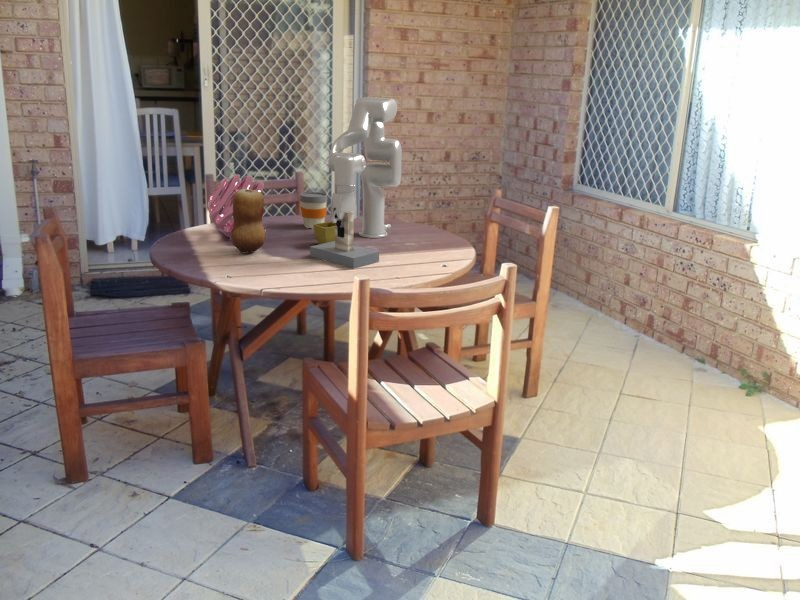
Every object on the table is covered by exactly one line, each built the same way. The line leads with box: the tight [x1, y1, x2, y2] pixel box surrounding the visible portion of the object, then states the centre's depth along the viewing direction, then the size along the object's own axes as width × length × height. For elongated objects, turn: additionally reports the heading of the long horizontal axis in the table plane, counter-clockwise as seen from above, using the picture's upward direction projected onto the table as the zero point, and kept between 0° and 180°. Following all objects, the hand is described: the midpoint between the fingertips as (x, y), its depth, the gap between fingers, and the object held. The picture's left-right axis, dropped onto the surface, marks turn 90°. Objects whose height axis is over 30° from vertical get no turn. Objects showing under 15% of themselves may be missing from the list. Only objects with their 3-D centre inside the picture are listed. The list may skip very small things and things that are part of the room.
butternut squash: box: [229, 188, 266, 253], centre depth 290 cm, size 14×13×25 cm
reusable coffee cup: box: [299, 191, 328, 230], centre depth 337 cm, size 13×12×15 cm
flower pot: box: [313, 221, 335, 245], centre depth 305 cm, size 9×9×9 cm
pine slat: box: [335, 211, 355, 252], centre depth 284 cm, size 3×7×16 cm, turn 49°
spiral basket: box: [207, 173, 267, 238], centre depth 314 cm, size 28×28×27 cm
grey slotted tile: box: [309, 241, 380, 269], centre depth 287 cm, size 14×24×4 cm, turn 49°
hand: (344, 235), depth 284 cm, fingers closed on pine slat, 3 cm apart
